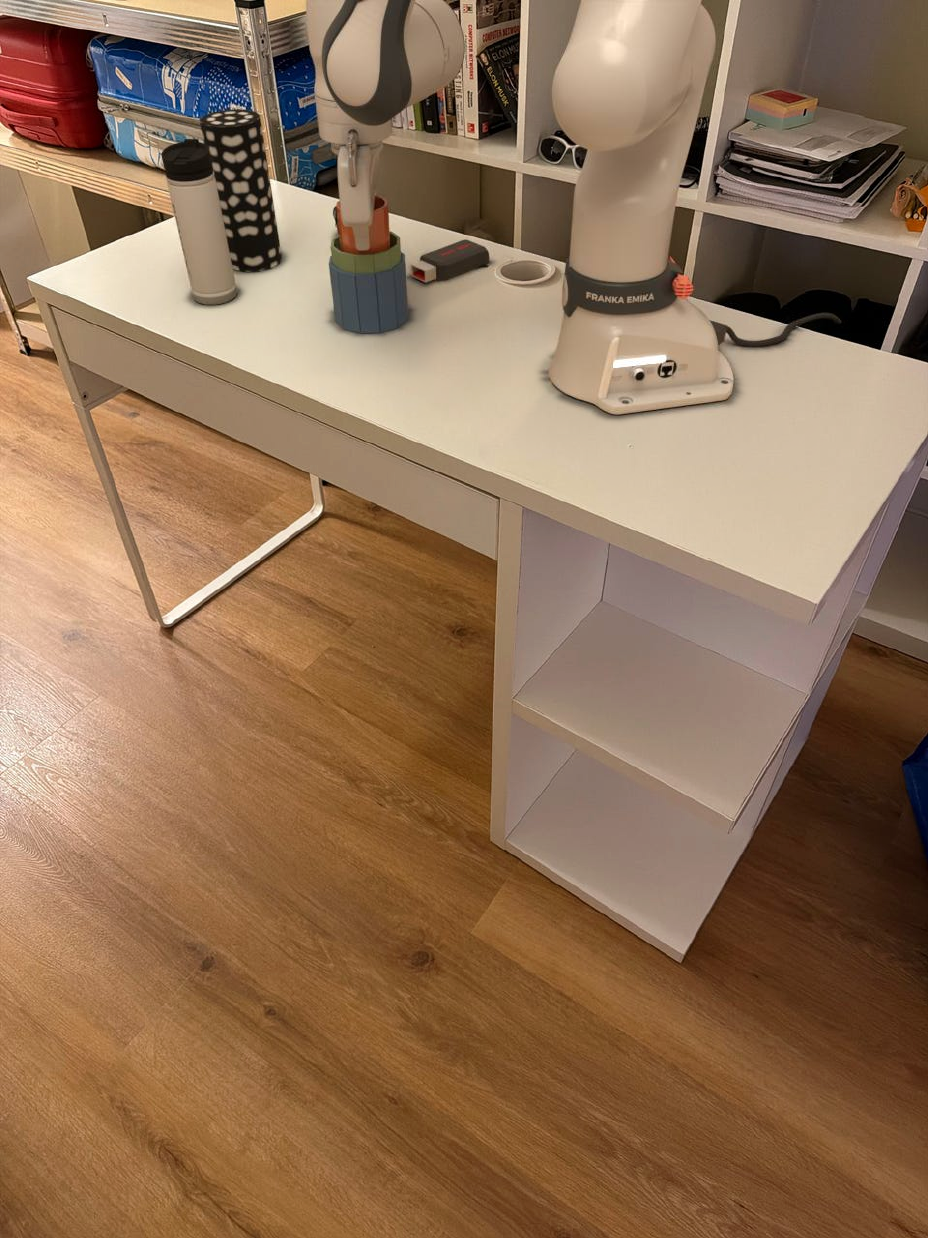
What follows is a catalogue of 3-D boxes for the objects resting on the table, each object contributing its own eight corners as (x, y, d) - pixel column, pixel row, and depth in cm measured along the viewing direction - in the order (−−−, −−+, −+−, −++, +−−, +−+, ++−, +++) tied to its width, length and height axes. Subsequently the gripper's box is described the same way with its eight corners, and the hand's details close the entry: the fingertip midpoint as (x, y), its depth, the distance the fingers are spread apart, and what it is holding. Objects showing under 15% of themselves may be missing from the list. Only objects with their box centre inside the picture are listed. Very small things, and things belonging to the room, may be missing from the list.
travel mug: (243, 286, 133) (215, 138, 120) (230, 306, 129) (200, 154, 115) (201, 284, 134) (169, 137, 120) (187, 304, 129) (152, 153, 115)
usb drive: (489, 262, 138) (489, 244, 136) (430, 286, 133) (429, 267, 131) (466, 252, 141) (466, 234, 139) (407, 275, 135) (406, 257, 133)
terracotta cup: (393, 265, 124) (388, 193, 118) (392, 286, 120) (386, 212, 113) (345, 267, 124) (338, 194, 118) (342, 287, 120) (334, 213, 113)
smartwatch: (361, 231, 148) (359, 200, 144) (346, 243, 144) (343, 211, 141) (339, 228, 149) (336, 196, 145) (323, 239, 146) (320, 207, 142)
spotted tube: (216, 263, 139) (186, 120, 125) (254, 245, 144) (230, 105, 130) (255, 276, 136) (229, 130, 122) (293, 257, 141) (272, 114, 127)
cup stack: (408, 299, 129) (404, 225, 122) (407, 332, 122) (402, 255, 115) (338, 301, 129) (330, 227, 122) (333, 333, 122) (324, 257, 115)
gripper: (377, 145, 101) (386, 268, 111) (384, 94, 116) (391, 206, 125) (321, 147, 101) (334, 269, 111) (334, 95, 116) (345, 207, 125)
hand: (364, 235), depth 118 cm, fingers closed on terracotta cup, 6 cm apart
